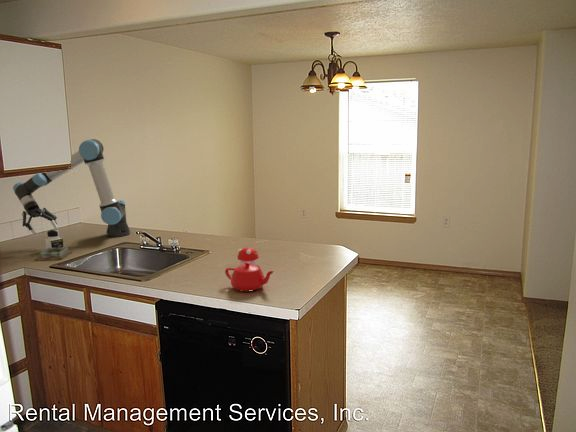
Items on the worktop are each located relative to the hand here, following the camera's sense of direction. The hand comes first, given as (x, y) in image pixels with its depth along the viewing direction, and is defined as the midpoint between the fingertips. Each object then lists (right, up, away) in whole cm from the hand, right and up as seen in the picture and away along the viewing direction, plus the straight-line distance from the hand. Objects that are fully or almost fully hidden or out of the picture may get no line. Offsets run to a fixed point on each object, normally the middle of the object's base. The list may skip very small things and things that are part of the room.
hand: (46, 231), depth 283 cm
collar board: (+12, -14, -14) cm, 23 cm away
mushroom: (+125, -18, -44) cm, 133 cm away
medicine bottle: (+6, -11, 0) cm, 12 cm away
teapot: (+127, -24, -69) cm, 147 cm away
